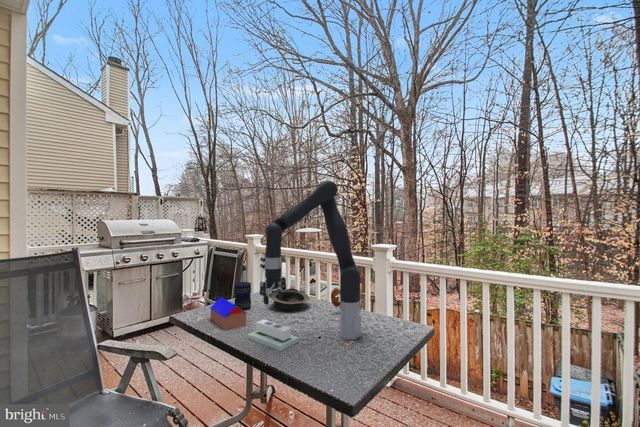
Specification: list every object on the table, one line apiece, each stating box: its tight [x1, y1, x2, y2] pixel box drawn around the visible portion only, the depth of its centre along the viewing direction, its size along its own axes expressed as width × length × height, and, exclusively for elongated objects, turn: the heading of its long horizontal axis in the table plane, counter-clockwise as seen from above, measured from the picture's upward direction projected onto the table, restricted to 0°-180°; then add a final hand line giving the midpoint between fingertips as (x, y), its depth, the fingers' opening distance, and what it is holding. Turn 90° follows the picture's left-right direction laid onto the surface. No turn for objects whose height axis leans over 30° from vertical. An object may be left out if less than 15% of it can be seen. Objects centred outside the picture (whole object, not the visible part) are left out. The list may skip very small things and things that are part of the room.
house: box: [209, 296, 247, 331], centre depth 167 cm, size 12×20×12 cm, turn 39°
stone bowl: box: [268, 288, 310, 311], centre depth 194 cm, size 25×25×9 cm
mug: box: [330, 287, 340, 308], centre depth 182 cm, size 15×8×15 cm, turn 84°
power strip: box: [255, 318, 292, 343], centre depth 145 cm, size 18×5×7 cm, turn 52°
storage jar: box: [233, 281, 252, 312], centre depth 191 cm, size 10×10×15 cm
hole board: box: [247, 330, 300, 352], centre depth 145 cm, size 21×12×2 cm, turn 52°
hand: (273, 302), depth 145 cm, fingers open, 8 cm apart
